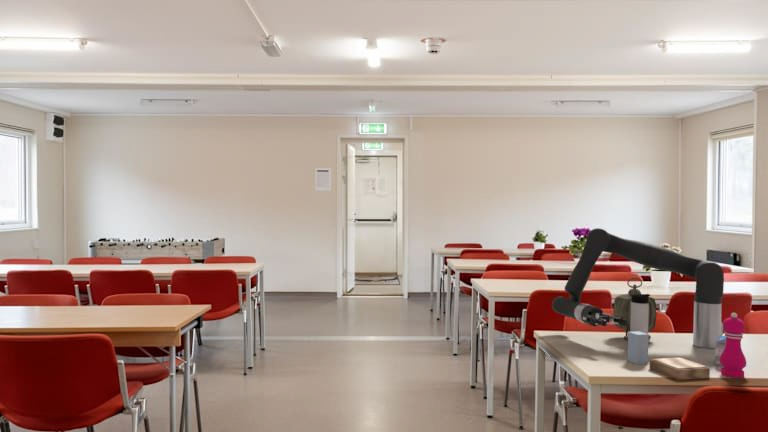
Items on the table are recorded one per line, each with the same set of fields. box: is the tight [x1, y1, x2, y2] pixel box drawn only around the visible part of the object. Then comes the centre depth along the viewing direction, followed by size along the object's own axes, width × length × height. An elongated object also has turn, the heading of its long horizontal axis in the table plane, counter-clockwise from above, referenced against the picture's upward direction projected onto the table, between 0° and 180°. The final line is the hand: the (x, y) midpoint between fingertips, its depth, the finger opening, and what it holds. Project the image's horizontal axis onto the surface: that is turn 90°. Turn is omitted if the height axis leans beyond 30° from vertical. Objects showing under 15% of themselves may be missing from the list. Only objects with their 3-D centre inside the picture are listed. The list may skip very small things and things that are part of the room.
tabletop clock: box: [612, 277, 657, 341], centre depth 225 cm, size 14×9×25 cm, turn 104°
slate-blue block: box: [627, 331, 650, 365], centre depth 188 cm, size 4×4×10 cm
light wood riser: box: [649, 356, 711, 381], centre depth 176 cm, size 12×12×3 cm
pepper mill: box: [720, 312, 747, 379], centre depth 175 cm, size 7×7×20 cm
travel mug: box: [630, 293, 651, 334], centre depth 213 cm, size 6×7×20 cm
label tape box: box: [714, 335, 726, 367], centre depth 189 cm, size 9×4×12 cm, turn 141°
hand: (615, 323), depth 199 cm, fingers open, 8 cm apart
